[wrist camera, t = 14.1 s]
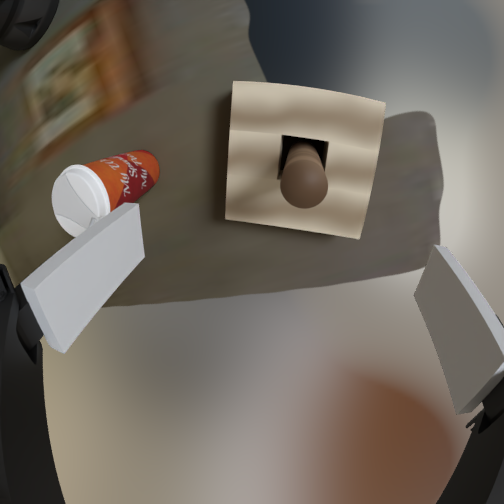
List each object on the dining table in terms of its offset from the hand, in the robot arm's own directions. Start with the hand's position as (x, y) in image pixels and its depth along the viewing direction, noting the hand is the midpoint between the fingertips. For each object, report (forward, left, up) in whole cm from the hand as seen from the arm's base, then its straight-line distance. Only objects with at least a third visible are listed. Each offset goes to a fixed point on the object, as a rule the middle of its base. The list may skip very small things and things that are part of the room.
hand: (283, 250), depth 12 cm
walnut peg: (0, +1, -25) cm, 25 cm away
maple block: (0, +1, -25) cm, 25 cm away
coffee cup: (+4, -21, -25) cm, 33 cm away
